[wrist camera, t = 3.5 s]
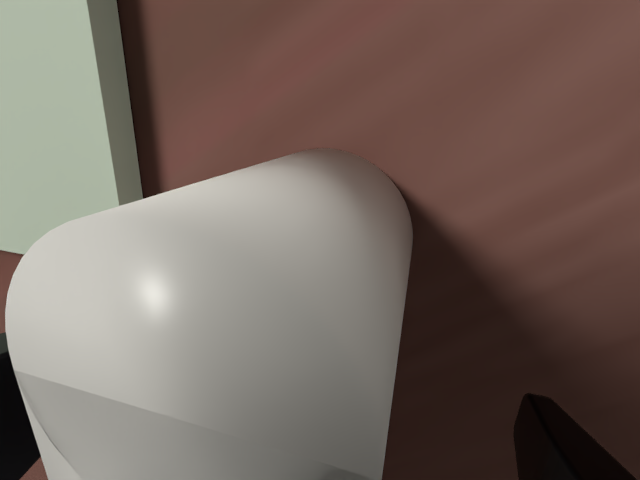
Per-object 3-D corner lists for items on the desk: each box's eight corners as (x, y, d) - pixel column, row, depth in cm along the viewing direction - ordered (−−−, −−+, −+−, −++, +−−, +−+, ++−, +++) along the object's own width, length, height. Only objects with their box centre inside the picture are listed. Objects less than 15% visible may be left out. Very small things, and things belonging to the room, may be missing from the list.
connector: (372, 527, 11) (326, 862, 6) (255, 488, 12) (134, 749, 7) (425, 155, 7) (415, 252, 2) (244, 142, 8) (-44, 188, 3)
